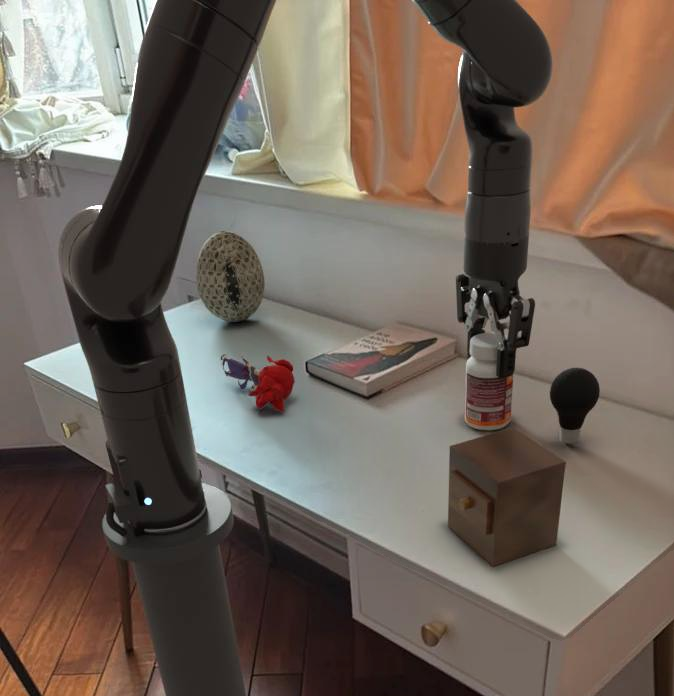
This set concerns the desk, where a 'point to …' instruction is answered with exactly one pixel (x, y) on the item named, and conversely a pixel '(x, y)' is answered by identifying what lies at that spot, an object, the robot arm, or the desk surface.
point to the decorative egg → (230, 277)
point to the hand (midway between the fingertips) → (490, 367)
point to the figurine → (264, 380)
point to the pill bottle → (486, 386)
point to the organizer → (505, 495)
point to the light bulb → (573, 400)
